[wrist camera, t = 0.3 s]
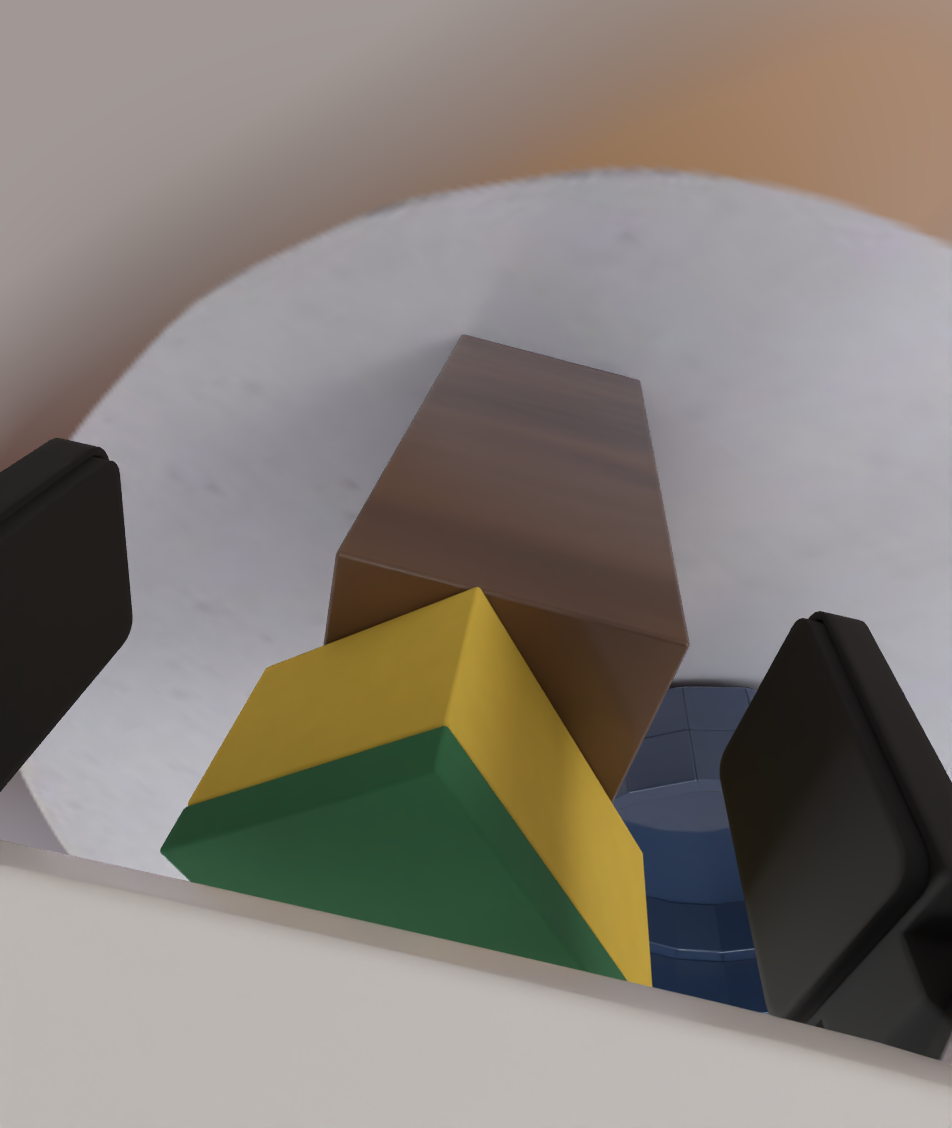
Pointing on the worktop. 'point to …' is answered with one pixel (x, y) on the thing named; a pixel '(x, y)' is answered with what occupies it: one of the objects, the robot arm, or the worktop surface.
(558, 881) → the sponge
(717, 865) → the bowl
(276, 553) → the worktop surface
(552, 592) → the sponge stand
